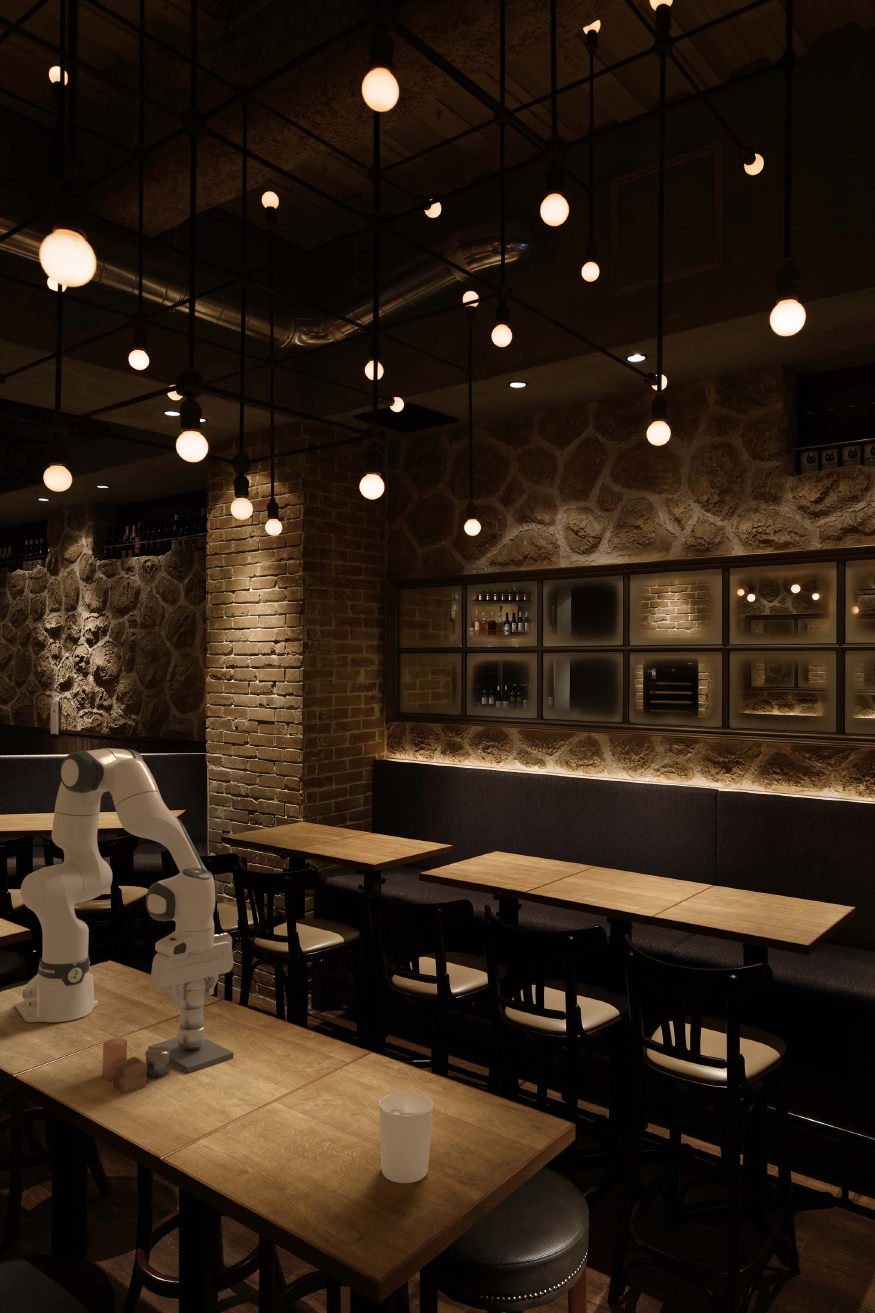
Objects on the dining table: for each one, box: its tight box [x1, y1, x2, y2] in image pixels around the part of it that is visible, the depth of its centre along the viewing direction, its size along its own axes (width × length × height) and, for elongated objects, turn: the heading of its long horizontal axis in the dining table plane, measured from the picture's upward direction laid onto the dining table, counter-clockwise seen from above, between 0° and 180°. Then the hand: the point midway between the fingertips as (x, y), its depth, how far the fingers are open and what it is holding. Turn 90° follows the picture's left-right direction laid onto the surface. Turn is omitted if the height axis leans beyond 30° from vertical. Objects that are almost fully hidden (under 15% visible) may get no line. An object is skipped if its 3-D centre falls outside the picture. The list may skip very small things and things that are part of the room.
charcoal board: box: [147, 1037, 235, 1074], centre depth 208 cm, size 17×12×1 cm
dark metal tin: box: [145, 1047, 170, 1080], centre depth 197 cm, size 5×5×5 cm
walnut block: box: [111, 1056, 147, 1095], centre depth 190 cm, size 5×5×5 cm
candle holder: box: [378, 1090, 434, 1184], centre depth 160 cm, size 10×10×12 cm
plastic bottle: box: [176, 978, 207, 1049], centre depth 209 cm, size 6×7×20 cm
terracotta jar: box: [101, 1038, 128, 1081], centre depth 196 cm, size 5×5×7 cm
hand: (192, 999), depth 208 cm, fingers open, 8 cm apart
